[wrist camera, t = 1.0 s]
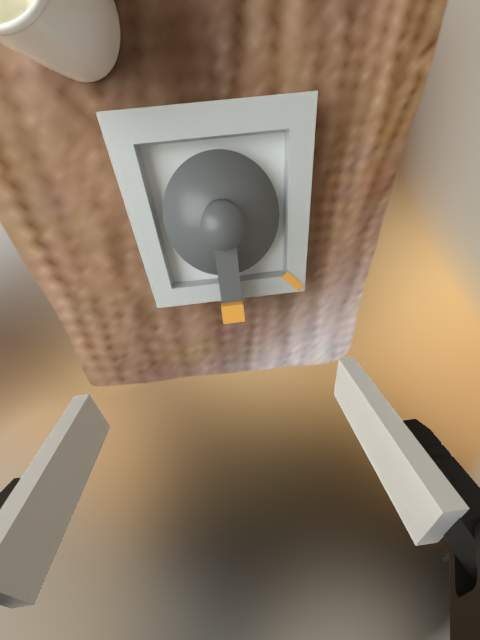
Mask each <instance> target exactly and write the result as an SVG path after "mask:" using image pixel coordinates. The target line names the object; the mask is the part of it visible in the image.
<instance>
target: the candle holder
mask: <svg viewBox="0 0 480 640" xmlns="http://www.w3.org/2000/svg"><path fill="white" fill-rule="evenodd" d="M0 45H2V46H4V47H6V48H8V49H10V50H12V51H14V52H16V53H18V54H20V55H22V56H24V57H26V58H28V59H30V60H32V61H34V62H36V63H38V64H40V65H42V66H44V67H46V68H48V69H50V70H52V71H54V72H56V73H58V74H60V75H62V76H64V77H67V78H69V79H72V80H75V81H79V82H95V81H98V80H100V79H102V78H104V77H105V76H106V75H107V74H108V73H109V72H110V71H111V70H112V68H113V67H114V65H115V63H116V60H117V57H118V54H119V49H120V23H119V17H118V12H117V8H116V5H115V2H114V0H0Z"/></svg>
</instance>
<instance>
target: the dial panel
mask: <svg viewBox="0 0 480 640" xmlns="http://www.w3.org/2000/svg"><path fill="white" fill-rule="evenodd" d="M317 97H318V91H309V92H298V93H288V94H278V95H267V96H257V97H247V98H236V99H226V100H215V101H205V102H195V103H184V104H174V105H164V106H153V107H143V108H133V109H122V110H112V111H102V112H96V115H97V118H98V121H99V124H100V128H101V131H102V134H103V137H104V140H105V143H106V147H107V150H108V153H109V156H110V159H111V162H112V166H113V169H114V172H115V175H116V178H117V181H118V184H119V188H120V191H121V194H122V197H123V200H124V203H125V207H126V210H127V213H128V216H129V219H130V222H131V226H132V229H133V232H134V235H135V238H136V241H137V244H138V248H139V251H140V254H141V257H142V260H143V263H144V267H145V270H146V273H147V276H148V279H149V282H150V286H151V289H152V292H153V295H154V298H155V301H156V304H157V308H162V307H171V306H179V305H188V304H197V303H205V302H214V301H221V294H220V287H219V281H218V275H213V274H208V273H205V272H202V271H200V270H198V269H196V268H194V267H193V266H191V265H190V264H188V263H187V262H186V261H185V260H183V259H182V257H181V256H180V255H179V254H178V253H177V252H176V250H175V249H174V248H173V246H172V244H171V243H170V241H169V238H168V236H167V234H166V230H165V227H164V222H163V213H162V208H163V199H164V194H165V190H166V187H167V185H168V183H169V181H170V179H171V177H172V175H173V174H174V172H175V171H176V170H177V169H178V167H179V166H180V165H181V164H182V163H184V162H185V161H186V160H187V159H189V158H190V157H192V156H194V155H196V154H198V153H201V152H203V151H207V150H213V149H225V150H232V151H235V152H238V153H241V154H243V155H245V156H247V157H248V158H250V159H251V160H253V161H254V162H255V163H257V164H258V165H259V166H260V167H261V168H262V169H263V171H264V172H265V173H266V174H267V176H268V177H269V179H270V181H271V182H272V184H273V187H274V189H275V192H276V195H277V198H278V204H279V224H278V230H277V233H276V236H275V239H274V241H273V243H272V245H271V247H270V249H269V250H268V252H267V253H266V254H265V256H264V257H263V258H262V259H261V260H260V261H259V262H258V263H256V264H255V265H254V266H252V267H250V268H249V269H247V270H245V271H243V272H240V273H239V276H240V287H241V298H249V297H257V296H266V295H275V294H283V293H292V292H301V291H305V277H306V262H307V247H308V232H309V217H310V202H311V187H312V172H313V157H314V142H315V127H316V112H317Z"/></svg>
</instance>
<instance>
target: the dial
mask: <svg viewBox="0 0 480 640" xmlns="http://www.w3.org/2000/svg"><path fill="white" fill-rule="evenodd" d="M162 213H163V222H164V227H165V230H166V234H167V236H168V238H169V241H170V243H171V244H172V246H173V248H174V249H175V250H176V252H177V253H178V254H179V255H180V256H181V257H182V259H183V260H185V261H186V262H187V263H188V264H190V265H191V266H193V267H194V268H196V269H198V270H200V271H202V272H205V273H208V274H213V275H218V281H219V287H220V294H221V301H222V304H221V310H222V316H223V323H224V324H228V323H236V322H245V318H244V307H243V301H242V298H241V287H240V276H239V273H240V272H243V271H245V270H247V269H249V268H250V267H252V266H254V265H255V264H256V263H258V262H259V261H260V260H261V259H262V258H263V257H264V256H265V254H266V253H267V252H268V250H269V249H270V247H271V245H272V243H273V241H274V239H275V236H276V233H277V230H278V224H279V204H278V198H277V195H276V192H275V189H274V187H273V184H272V182H271V181H270V179H269V177H268V176H267V174H266V173H265V172H264V171H263V169H262V168H261V167H260V166H259V165H258V164H257V163H255V162H254V161H253V160H251V159H250V158H248V157H247V156H245V155H243V154H241V153H238V152H235V151H232V150H225V149H213V150H207V151H203V152H201V153H198V154H196V155H194V156H192V157H190V158H189V159H187V160H186V161H185V162H184V163H182V164H181V165H180V166H179V167H178V169H177V170H176V171H175V172H174V174H173V175H172V177H171V179H170V181H169V183H168V185H167V187H166V190H165V194H164V199H163V208H162Z"/></svg>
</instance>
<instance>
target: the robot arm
mask: <svg viewBox="0 0 480 640" xmlns="http://www.w3.org/2000/svg"><path fill="white" fill-rule="evenodd" d="M334 396H335V397H336V399H337V401H338V403H339V405H340V407H341V408H342V410H343V412H344V414H345V416H346V418H347V419H348V421H349V423H350V425H351V427H352V429H353V431H354V432H355V434H356V436H357V438H358V440H359V442H360V443H361V445H362V447H363V449H364V451H365V453H366V454H367V456H368V458H369V460H370V462H371V464H372V465H373V468H374V469H375V471H376V473H377V475H378V477H379V479H380V481H381V482H382V484H383V486H384V488H385V490H386V492H387V493H388V495H389V497H390V499H391V501H392V503H393V504H394V506H395V508H396V510H397V512H398V514H399V516H400V517H401V519H402V521H403V523H404V525H405V527H406V529H407V530H408V532H409V534H410V536H411V538H412V540H413V542H414V543H415V545H416V546H417V545H423V544H430V543H437V542H438V541H439V540H440V539H441V538H442V537H443V536H444V538H445V539H446V541H447V542H448V544H449V545H450V547H448V548H447V549H446V550H445V551H444V552H443V555H442V560H444V561H445V562H446V561H447V560H448V559H449V571H450V572H449V575H450V640H480V488H479V487H478V486H477V484H476V483H475V482H474V481H473V480H472V478H470V476H469V475H468V474H467V473H466V471H465V470H464V469H463V468H462V467H461V466H460V465H459V463H458V462H457V461H456V460H455V458H453V457H452V456H451V454H450V453H449V451H448V450H447V449H446V448H445V447H444V446H443V445H442V444H441V442H440V441H439V440H438V438H437V437H436V436H435V435H434V434H433V432H432V431H431V430H430V429H429V428H427V427H426V426H425V425H423V424H422V423H420V422H419V421H418V420H416V419H411V420H405V421H402V419H401V418H400V417H399V415H398V414H397V413H396V412H395V410H394V409H393V408H392V407H391V405H390V404H389V402H388V401H387V400H386V399H385V397H384V396H383V395H382V393H381V392H380V391H379V389H378V388H377V387H376V385H375V384H374V383H373V382H372V380H371V379H370V378H369V376H368V375H367V374H366V372H365V371H364V370H363V368H362V367H361V366H360V365H359V363H358V362H357V361H356V359H355V358H354V357H346V358H339V362H338V368H337V375H336V383H335V389H334ZM109 429H110V425H109V424H108V422H107V421H106V419H105V418H104V416H103V415H102V413H101V412H100V410H99V409H98V407H97V406H96V404H95V403H94V401H93V400H92V398H91V397H90V395H88V394H87V395H81V396H74V398H73V399H72V401H71V402H70V404H69V405H68V407H67V408H66V410H65V411H64V413H63V414H62V416H61V417H60V419H59V420H58V422H57V423H56V425H55V427H54V428H53V430H52V431H51V433H50V434H49V436H48V437H47V439H46V440H45V442H44V443H43V445H42V447H41V448H40V449H39V451H38V452H37V454H36V456H35V457H34V459H33V460H32V462H31V463H30V465H29V466H28V468H27V469H26V471H25V472H24V474H23V475H22V477H21V478H15V479H13V480H12V481H11V482H10V484H8V485H7V486H6V487H5V489H4V490H3V491H2V492H0V605H2V606H5V607H8V608H16V607H23V606H30V605H34V604H35V601H36V599H37V597H38V594H39V592H40V589H41V587H42V585H43V582H44V580H45V578H46V575H47V573H48V571H49V569H50V566H51V564H52V562H53V559H54V557H55V554H56V552H57V550H58V548H59V545H60V543H61V541H62V538H63V536H64V533H65V531H66V529H67V526H68V524H69V522H70V520H71V517H72V515H73V513H74V510H75V508H76V506H77V503H78V501H79V499H80V496H81V494H82V492H83V489H84V487H85V484H86V482H87V480H88V478H89V475H90V473H91V471H92V468H93V466H94V464H95V461H96V459H97V457H98V454H99V452H100V450H101V447H102V445H103V442H104V440H105V438H106V436H107V433H108V431H109Z"/></svg>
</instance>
